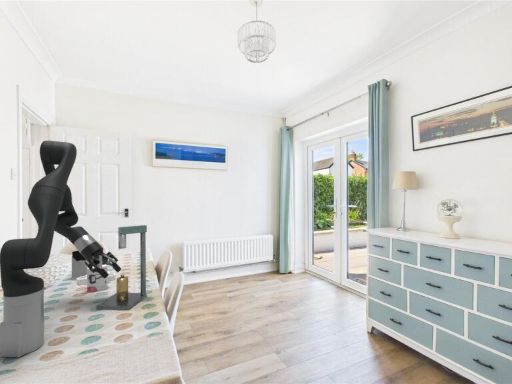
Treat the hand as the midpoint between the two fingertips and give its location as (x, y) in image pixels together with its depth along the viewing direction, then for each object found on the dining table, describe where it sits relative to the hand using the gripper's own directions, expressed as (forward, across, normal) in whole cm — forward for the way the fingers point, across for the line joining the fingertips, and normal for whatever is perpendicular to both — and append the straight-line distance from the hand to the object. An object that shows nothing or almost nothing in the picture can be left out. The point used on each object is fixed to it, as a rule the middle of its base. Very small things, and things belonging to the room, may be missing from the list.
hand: (113, 273), depth 112 cm
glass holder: (-19, +33, +36) cm, 53 cm away
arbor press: (+12, 0, +6) cm, 13 cm away
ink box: (-4, +14, +22) cm, 26 cm away
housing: (+10, 0, +5) cm, 11 cm away
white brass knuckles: (-11, +27, +29) cm, 41 cm away
